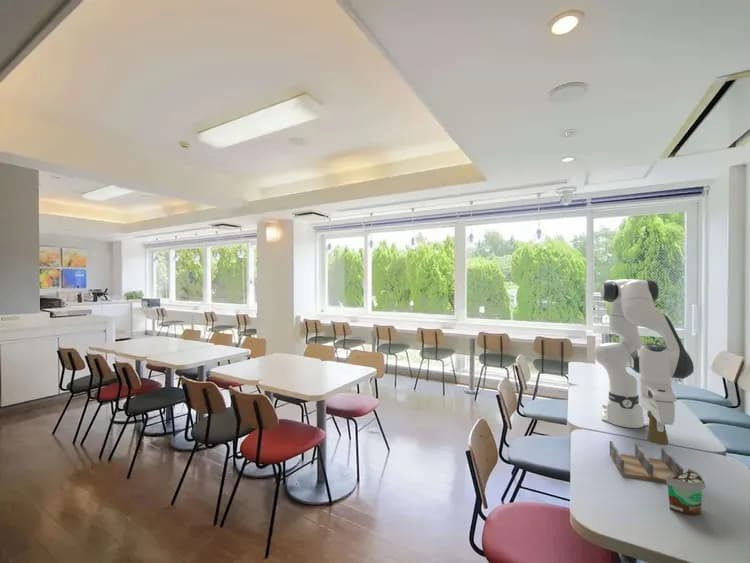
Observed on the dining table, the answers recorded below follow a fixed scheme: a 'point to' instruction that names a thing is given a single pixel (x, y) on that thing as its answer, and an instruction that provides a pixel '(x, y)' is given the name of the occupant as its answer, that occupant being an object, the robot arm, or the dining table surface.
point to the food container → (686, 492)
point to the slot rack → (645, 465)
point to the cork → (656, 432)
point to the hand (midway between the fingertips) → (656, 427)
